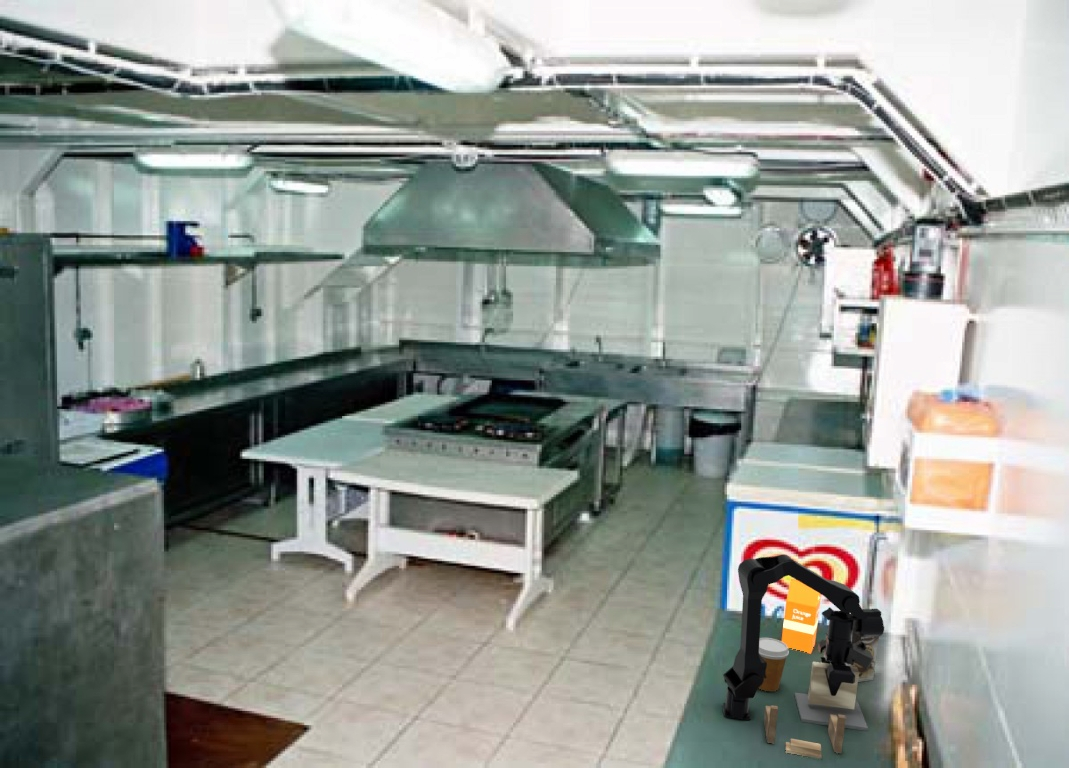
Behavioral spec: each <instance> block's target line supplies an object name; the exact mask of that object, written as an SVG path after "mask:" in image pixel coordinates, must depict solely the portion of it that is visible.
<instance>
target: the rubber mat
mask: <svg viewBox="0 0 1069 768" xmlns="http://www.w3.org/2000/svg"><path fill="white" fill-rule="evenodd" d="M808 694H809V693H808ZM808 694H807V693H803V692H802V693H801V692H794V698H795V703H796V707H797V710H798V713H799V714H798V715H799V718H800V722H801V723H809V724H814V725H815V724H816V725H821V726H828V727H829V719H830V714H831V715H836V716H837V719H838V714H839V715H845V718H846V721H845V729H850V730H852V729H853V730H859V731H866V732H868V729H869V727H868V724H867V723H866V719H865V717H864V715H863V712H862V709H861V706H860V705H859V701H858V700H855V707H854V709H848V708H840V707H833V706H826V705H818V704H811V703H809V699H808Z"/></svg>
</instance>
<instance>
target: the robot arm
mask: <svg viewBox="0 0 1069 768" xmlns="http://www.w3.org/2000/svg"><path fill="white" fill-rule="evenodd" d="M737 573H738V581H739V585H740V588H741V592H742V611H741V626H740V627H741V629H740V630H741V631H740V647H739V650H738V652H737V653H736V655H735V657H734V662H733V666H731V668H729V669H728V670H727V671H725V673H724V674H722V677H723V681H724V683H725V684H726V685H727V688H726V689H727V690H726V699H725V702H723V703H722V710H723V711H722V712H723V716H724V718H731V719H736V720H737V719H738V720H743V721H744V720H746V721H751V712H750V711H751V710H750V699H754V697H755V695H756V694H757V691H758V690H759V689H758V688H759V687H760V686H761V685H762V684H763V681H764V678H767V677H766V673H765V672H766V667H767V662H766V661H765V660H764V659H763V657H762V656H761V655H760V654H759V640H760V638H761V637H760V636H761V620H762V618H761V617H762V601H763V598H764V597H765V595H766V593H767V591H768V587H769V585H771V584H775V583H777V582H779V581H780V580H783V578H785V577H788V576H790V577H791V578H792V579H794V580H798V581H799V582H801V583H803V584H805V585H806V586H808V587H810V588H811V589H813V590H815V591H817V592H818V593H820V595H822V596H823V597H825V599H826V600H828V601H829V602H830V603H831V604H832V605H834V606H835V607H836V608H837V609H838V610H834V609H832V607H828V608H827V609H825V610H823V611H822V612H821V615H822V616H823V617H824V618H825V619H826V620H828V621H829V622H828V630H827V633H825V639H826V640H825V639H822V640H820V642H818V646H817V650H818V654H821V655H823V656H821V657H820V662H821V663H828V664H830V665H829V666H828V667H827V669H825V674H826V677H827V681H828V685H829V689H830V693H831V695H832V696H836V694H837V692H838V689H839V687H840V685H841V683H842V682H843V683H851V684H853V683H855V674H854V671H853V669H852V668H851V667H850V666H846V664H845V663H847V664H852V662H854V663H856V664H858V665H860V666H862V667H863V668H865V669H868V668H869V666H870V664H871V662H872V660H873V656H872V654H871V653H870V652H869V650H866V645H865V643H864V642H862V641H860V640H859V641H858V642H856V643H854V644H853V643H852V642H851V636H852V630H853V631H854V632H855V633H856V635H858V636H879V637H881V636H883V634H884V631H885V626H884V625H885V624H884V620H883V618H882V611H881V610H879V609H878V608H864V609H863V608H862V607H861V605H860V602H861V601H860V600H861V599H860V596H859V595H858V594H857V593H856V592H854V591H853V590H852V589H851V588H849V586H847V585H846V584H843V583H842V582H838V581H835V580H833V579H831V580H830V579H827V578H825V577H823V576H822V575H820V574H818V573H817V572H815V571H813V570H811V569H809V568H808V567H806V566H804V565H803V564H801V563H799V562H797V560H795V559H793V558H792V557H790V555H787V554H779V555H775V556H763V557H762V556H761V557H756V558H746V559H744V560H742V562H740V563H739V564H738V569H737Z"/></svg>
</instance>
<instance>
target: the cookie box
mask: <svg viewBox="0 0 1069 768" xmlns="http://www.w3.org/2000/svg"><path fill="white" fill-rule="evenodd" d="M859 640H860V641H862V642H864V643H865V645H866V650H869V652H870V653H871V654H872V656H873V660H872V662H871V664H870V666H869V668H868V669H865V668H863V667H862V666H860V665H858V664H856V663H854V662H852V664H847V663H845V664H846V666H852V667H857V669H858V671H859V677H858V683H861V682H867V681H873V680H874V675H875V669H876V660H877V652H878V646H879V640H880V636H858V635H856V633H855V632H854V631H853V630H852V636H851V642H852V643H853V644H854V643H856V642H858V641H859Z"/></svg>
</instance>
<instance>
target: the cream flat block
mask: <svg viewBox="0 0 1069 768" xmlns="http://www.w3.org/2000/svg"><path fill="white" fill-rule="evenodd" d="M829 665H830V664H828V663H822V662H821V661H820V662H819V661H812V663H811V672H810V680H809V686H808V687H809V689H808V699H809V703H811V704H818V705H826V706H833V707H840V708H848V709H854V707H855V701H857V700H856V697H857V691H858V684H859V682H858V677H859V671H858V669H857V667H852V666H850V667H851V668H852V669H853V671H854V674H855V683H853V684H851V683H843V682H842V683H841V685H840V687H839V689H838V692H837V694H836V696H832V695H831V693H830V689H829V685H828V681H827V677H826V674H825V669H827V667H828V666H829Z"/></svg>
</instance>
